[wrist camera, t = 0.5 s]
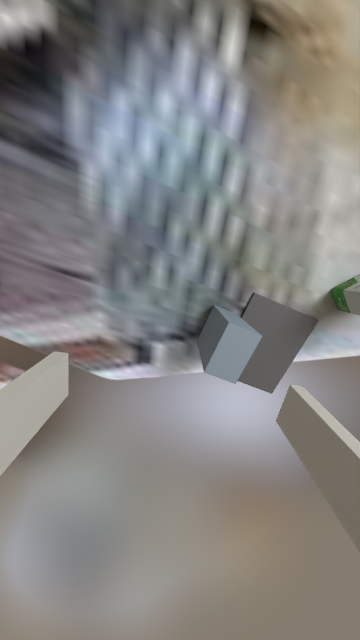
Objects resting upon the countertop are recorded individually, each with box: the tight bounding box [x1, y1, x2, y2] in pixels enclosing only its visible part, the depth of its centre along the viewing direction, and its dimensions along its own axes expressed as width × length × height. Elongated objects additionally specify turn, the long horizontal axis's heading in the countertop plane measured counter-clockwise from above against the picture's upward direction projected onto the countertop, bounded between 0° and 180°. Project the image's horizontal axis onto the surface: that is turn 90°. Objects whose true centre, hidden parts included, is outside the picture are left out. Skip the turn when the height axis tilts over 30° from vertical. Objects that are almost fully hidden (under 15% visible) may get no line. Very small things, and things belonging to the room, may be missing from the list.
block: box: [197, 305, 262, 384], centre depth 32 cm, size 5×8×12 cm, turn 158°
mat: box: [237, 293, 318, 393], centre depth 38 cm, size 14×18×1 cm
